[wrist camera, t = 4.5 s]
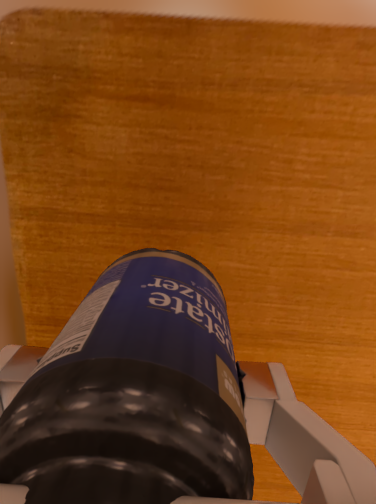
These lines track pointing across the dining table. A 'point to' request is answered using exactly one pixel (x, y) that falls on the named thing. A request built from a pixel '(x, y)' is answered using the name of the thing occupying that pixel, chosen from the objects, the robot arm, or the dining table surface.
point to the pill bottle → (134, 395)
